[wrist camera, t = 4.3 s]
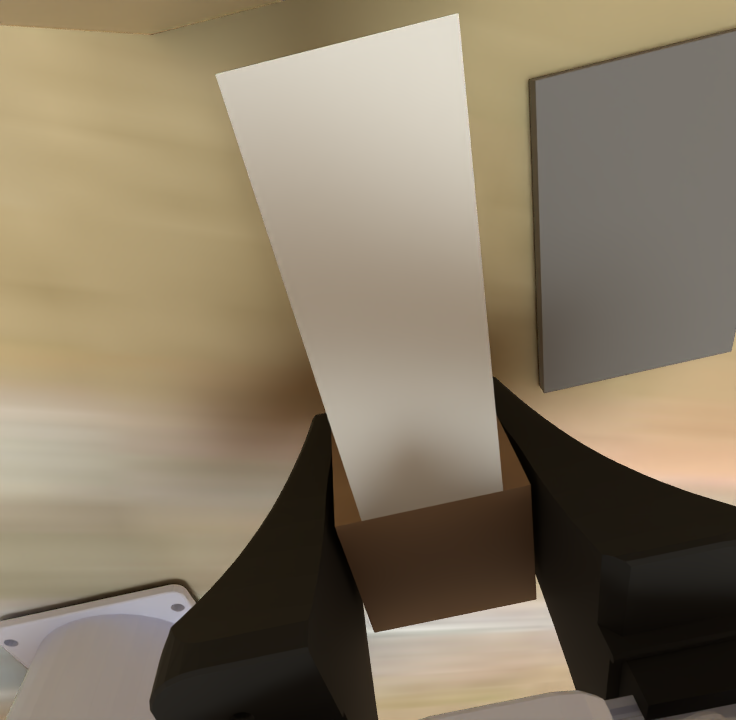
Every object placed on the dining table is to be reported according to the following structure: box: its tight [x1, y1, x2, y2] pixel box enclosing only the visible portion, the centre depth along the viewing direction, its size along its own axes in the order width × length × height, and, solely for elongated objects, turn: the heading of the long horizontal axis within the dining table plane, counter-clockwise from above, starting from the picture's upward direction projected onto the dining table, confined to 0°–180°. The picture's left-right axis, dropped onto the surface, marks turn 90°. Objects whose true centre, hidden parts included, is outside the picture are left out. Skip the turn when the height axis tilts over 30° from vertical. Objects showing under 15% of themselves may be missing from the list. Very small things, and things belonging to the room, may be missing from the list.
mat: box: [529, 29, 736, 393], centre depth 14 cm, size 9×6×1 cm, turn 12°
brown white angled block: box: [215, 13, 536, 633], centre depth 11 cm, size 11×4×6 cm, turn 12°
